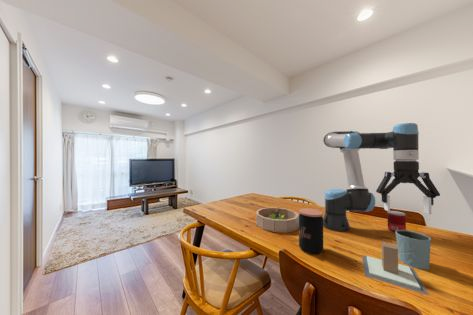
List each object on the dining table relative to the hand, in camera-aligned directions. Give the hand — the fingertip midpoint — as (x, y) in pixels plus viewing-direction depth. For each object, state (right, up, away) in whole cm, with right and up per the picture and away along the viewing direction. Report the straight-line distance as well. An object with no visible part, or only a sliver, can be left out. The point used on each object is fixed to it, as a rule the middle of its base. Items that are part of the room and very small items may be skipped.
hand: (406, 211), depth 71 cm
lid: (-13, -20, -7) cm, 25 cm away
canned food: (+25, -22, +31) cm, 46 cm away
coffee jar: (-35, -21, +10) cm, 43 cm away
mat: (-13, -21, -7) cm, 26 cm away
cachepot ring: (-44, -22, +43) cm, 65 cm away
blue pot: (+2, -21, -1) cm, 21 cm away
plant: (-44, -22, +42) cm, 65 cm away
